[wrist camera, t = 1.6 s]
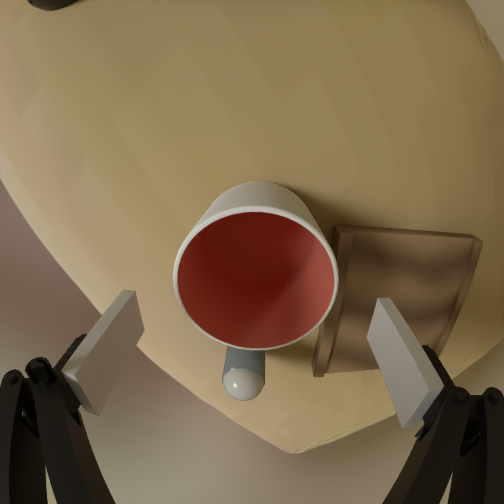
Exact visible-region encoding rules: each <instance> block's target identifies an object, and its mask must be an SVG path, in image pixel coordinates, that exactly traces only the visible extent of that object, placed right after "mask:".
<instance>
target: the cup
mask: <svg viewBox="0 0 504 504" xmlns="http://www.w3.org/2000/svg"><path fill="white" fill-rule="evenodd" d="M173 282H174V289H175V293H176V297H177V299H178V302H179V304H180V306H181V308H182V310H183V312H184V313H185V315H186V316H187V318H188V319H189V320H190V321H191V322H192V323H193V325H195V326H196V327H197V328H198V329H199V330H200V331H201V332H203V333H204V334H205V335H207V336H208V337H210V338H212V339H213V340H215V341H217V342H220V343H222V344H224V345H227V346H230V347H234V348H238V349H244V350H270V349H276V348H280V347H284V346H287V345H290V344H292V343H295V342H297V341H298V340H300V339H302V338H304V337H305V336H307V335H308V334H310V333H311V332H312V331H314V330H315V329H316V328H317V327H318V326H319V325H320V324H321V323H322V322H323V320H324V319H325V318H326V317H327V315H328V313H329V312H330V310H331V308H332V306H333V304H334V302H335V298H336V295H337V291H338V282H339V275H338V267H337V262H336V259H335V256H334V253H333V251H332V249H331V247H330V245H329V244H328V242H327V240H326V238H325V237H324V235H323V233H322V231H321V230H320V228H319V226H318V224H317V223H316V221H315V219H314V218H313V216H312V214H311V213H310V211H309V209H308V208H307V206H306V205H305V204H304V202H303V201H302V200H301V199H300V198H299V197H298V196H297V195H296V194H294V193H293V192H292V191H290V190H289V189H287V188H285V187H283V186H280V185H278V184H275V183H270V182H264V181H254V182H246V183H242V184H239V185H236V186H234V187H231V188H230V189H228V190H226V191H225V192H223V193H222V194H221V195H220V196H218V197H217V198H216V199H215V201H214V202H213V203H212V204H211V206H210V207H209V208H208V209H207V211H206V212H205V213H204V215H203V216H202V217H201V219H200V220H199V221H198V223H197V224H196V225H195V227H194V228H193V229H192V231H191V232H190V233H189V235H188V236H187V237H186V239H185V240H184V242H183V243H182V245H181V247H180V249H179V251H178V254H177V256H176V260H175V264H174V271H173Z"/></svg>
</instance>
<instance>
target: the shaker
mask: <svg viewBox="0 0 504 504" xmlns="http://www.w3.org/2000/svg"><path fill="white" fill-rule="evenodd" d="M222 382H223V386H224V389H225V391H226V392H227V394H228V395H229V396H231V397H232V398H234V399H236V400H239V401H248V400H251V399H253V398H255V397H257V396H258V395H259V394H260V392H261V391H262V389H263V386H264V384H265V350H244V349H238V348H234V347H230V346H227V352H226V358H225V364H224V370H223V376H222Z"/></svg>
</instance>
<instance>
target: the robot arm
mask: <svg viewBox="0 0 504 504" xmlns="http://www.w3.org/2000/svg"><path fill="white" fill-rule="evenodd" d="M74 1H75V0H28V2H29V3H30V4H31V5H32V6H34V7H36V8H39V9H42V10H45V11H51V10H56V9H59V8H62V7H64V6H66V5H68V4H70V3H72V2H74ZM143 332H144V326H143V322H142V318H141V314H140V309H139V305H138V301H137V296H136V291H134V290H123V291H122V292H121V293H120V295H119V296H118V297H117V298H116V299H115V301H114V302H113V303H112V304H111V305H110V307H109V308H108V309H107V310H106V312H105V313H104V314H103V315H102V317H101V318H100V319H99V321H98V322H97V323H96V324H95V325H94V327H93V328H92V329H91V331H90V332H89V333H88V335H87V334H82V335H81V336H80V337H78V338H76V339H75V341H74V342H73V343H72V344H71V346H70V347H69V348H68V350H67V351H66V353H65V354H64V355H63V356H62V358H61V359H60V360H59V362H58V363H57V364H56V366H55V367H54V368H52V366H51V364H50V363H49V361H48V360H47V359H46V358H43V357H37V358H35V359H32V360H31V361H30V362H29V363H28V364H27V366H26V368H25V371H26V373H27V375H28V376H29V378H24V376H23V375H22V373H21V372H20V371H19V370H15V369H14V370H11V371H9V372H7V373H6V374H5V375H4V377H3V379H2V383H1V386H0V504H48V501H47V490H46V471H45V464H46V468H47V472H48V475H49V479H50V483H51V486H52V489H53V493H54V495H55V499H56V501H57V504H116V503H115V501H114V499H113V498H112V495H111V493H110V491H109V489H108V487H107V485H106V483H105V480H104V479H103V476H102V474H101V471H100V469H99V466H98V464H97V461H96V459H95V456H94V454H93V451H92V448H91V445H90V442H89V439H88V437H87V433H86V430H85V427H84V424H83V420H82V417H81V414H80V412H79V410H78V408H79V406H80V405H82V406H83V408H84V409H85V411H86V412H89V413H92V414H95V415H98V416H99V415H100V413H101V411H102V409H103V407H104V405H105V403H106V401H107V399H108V397H109V395H110V393H111V391H112V389H113V387H114V385H115V383H116V382H117V380H118V378H119V376H120V374H121V372H122V370H123V368H124V366H125V365H126V363H127V361H128V359H129V357H130V355H131V353H132V352H133V350H134V348H135V346H136V344H137V343H138V341H139V339H140V337H141V336H142V334H143ZM366 338H367V340H368V342H369V344H370V347H371V349H372V351H373V354H374V356H375V359H376V361H377V363H378V366H379V368H380V371H381V373H382V376H383V378H384V381H385V383H386V386H387V388H388V391H389V394H390V396H391V399H392V402H393V404H394V407H395V410H396V412H397V415H398V418H399V421H400V423H401V426H402V429H404V428H408V427H412V426H416V425H417V424H418V423H419V421H420V420H421V419H422V418H423V421H424V423H425V424H424V425H423V426H422V428H421V429H420V430H419V431H418V433H417V434H416V435H415V437H417V436H418V438H417V440H416V442H415V444H414V446H413V449H412V451H411V453H410V455H409V457H408V459H407V461H406V463H405V465H404V467H403V469H402V471H401V473H400V474H399V477H398V478H397V480H396V482H395V483H394V485H393V487H392V488H391V490H390V492H389V493H388V495H387V497H386V498H385V500H384V502H383V503H382V504H439V503H440V501H441V499H442V496H443V494H444V492H445V490H446V487H447V485H448V482H449V479H450V477H451V474H452V471H453V475H452V481H451V488H450V493H449V499H448V504H504V396H503V394H502V392H501V391H500V390H498V389H497V388H494V387H489V388H487V389H486V390H485V392H484V393H483V394H482V395H470V394H469V393H468V391H467V390H466V389H464V388H462V387H456V386H455V385H454V383H453V381H452V380H451V378H450V376H449V374H448V373H447V371H446V369H445V368H444V366H442V363H441V361H440V360H439V358H438V356H437V355H436V353H435V352H434V350H432V349H431V348H430V347H429V346H428V345H422V346H421V345H420V343H419V342H418V340H417V338H416V337H415V335H414V334H413V332H412V330H411V329H410V327H409V326H408V324H407V323H406V321H405V320H404V318H403V316H402V315H401V313H400V312H399V310H398V309H397V307H396V306H395V304H394V303H393V302H392V300H391V299H390V298H378V299H377V302H376V306H375V310H374V314H373V317H372V321H371V324H370V327H369V331H368V334H367V337H366ZM22 412H23V415H22Z"/></svg>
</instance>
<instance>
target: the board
mask: <svg viewBox="0 0 504 504" xmlns="http://www.w3.org/2000/svg"><path fill="white" fill-rule="evenodd" d="M482 242H483V241H481V240H480V239H478V238H476V237H475V236H473V235H468V234H457V233H446V232H433V231H420V230H406V229H391V228H374V227H356V226H335V227H334V236H333V244H332V251H333V253H334V256H335V259H336V262H337V267H338V275H339V282H338V291H337V295H336V298H335V302H334V304H333V306H332V308H331V310H330V312H329V313H328V315H327V317H326V318H325V319H324V320H323V322H322V323H321V324H320V327H319V333H318V338H317V343H316V348H315V352H314V357H313V362H312V370H313V376H314V377H324V373H338V372H351V371H363V370H372V369H380V368H379V366H378V363H377V361H376V359H375V356H374V354H373V351H372V349H371V347H370V344H369V342H368V340H367V338H366V337H367V334H368V331H369V327H370V324H371V321H372V317H373V314H374V310H375V306H376V302H377V299H378V298H390V299H391V300H392V302H393V303H394V304H395V306H396V307H397V309H398V310H399V312H400V313H401V315H402V316H403V318H404V320H405V321H406V323H407V324H408V326H409V327H410V329H411V330H412V332H413V334H414V335H415V337H416V338H417V340H418V342H419V343H420V345H421V346H422V345H428V346H429V347H430V348H431V349H432V350H434V352H435V353H436V355H437V356H438V357H439V355H440V353H441V351H442V349H443V347H444V345H445V343H446V341H447V339H448V337H449V335H450V332H451V330H452V328H453V326H454V324H455V321H456V319H457V317H458V314H459V312H460V309H461V307H462V304H463V302H464V299H465V296H466V294H467V291H468V288H469V285H470V282H471V280H472V277H473V273H474V270H475V267H476V264H477V260H478V257H479V253H480V250H481V246H482Z"/></svg>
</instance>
